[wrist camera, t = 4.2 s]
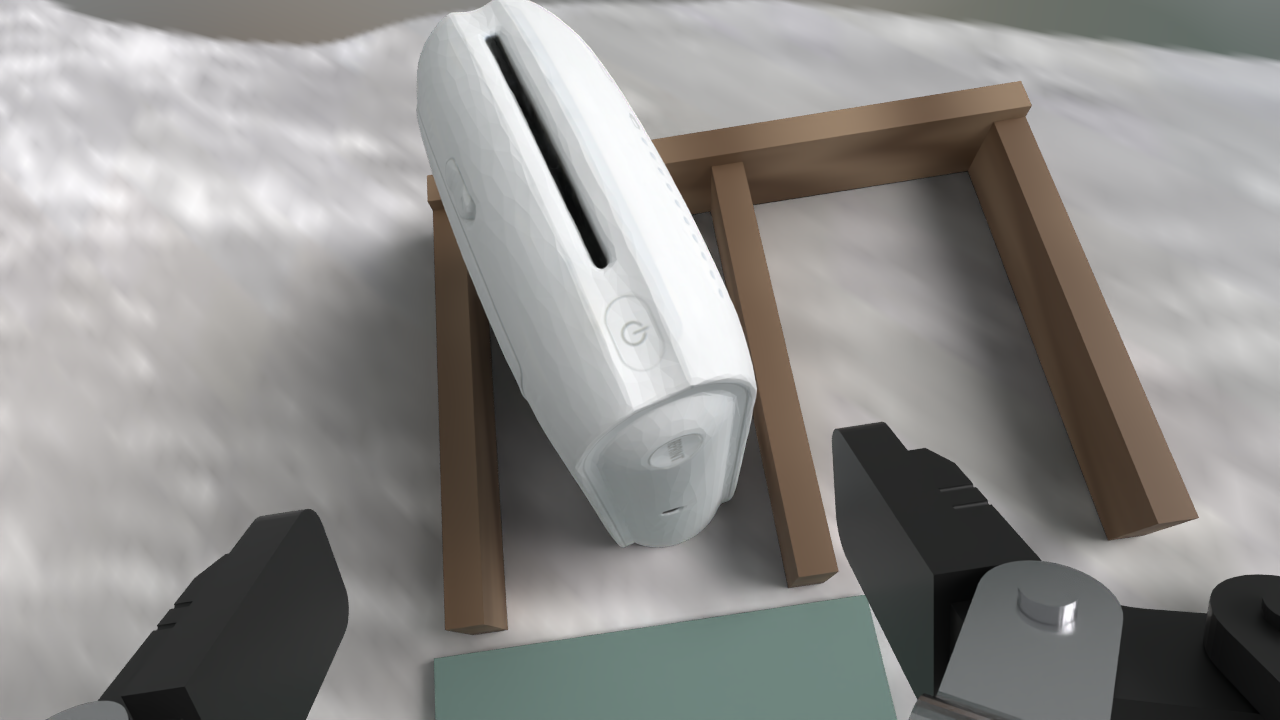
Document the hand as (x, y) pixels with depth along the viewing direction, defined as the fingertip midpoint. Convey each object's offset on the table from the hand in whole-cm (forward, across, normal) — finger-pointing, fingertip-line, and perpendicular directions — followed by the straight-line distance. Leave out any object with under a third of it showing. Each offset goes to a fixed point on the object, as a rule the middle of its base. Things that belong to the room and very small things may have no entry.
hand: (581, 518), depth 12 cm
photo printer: (+12, 0, +3) cm, 12 cm away
